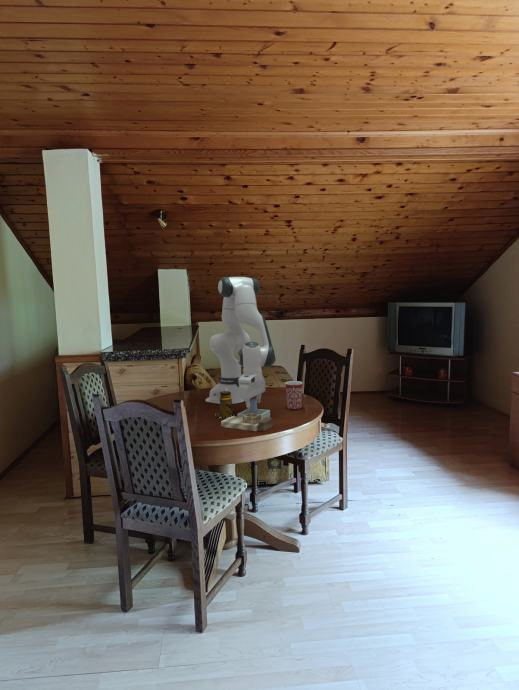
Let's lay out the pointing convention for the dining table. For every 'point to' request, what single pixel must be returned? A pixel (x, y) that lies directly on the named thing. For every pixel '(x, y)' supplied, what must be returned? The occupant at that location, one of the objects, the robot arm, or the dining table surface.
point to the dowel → (254, 406)
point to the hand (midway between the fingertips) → (253, 404)
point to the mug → (294, 394)
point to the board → (243, 422)
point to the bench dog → (265, 424)
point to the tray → (259, 411)
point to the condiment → (225, 404)
